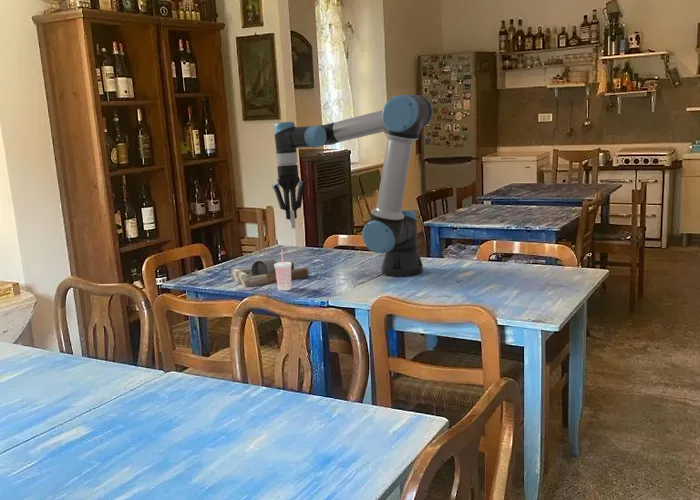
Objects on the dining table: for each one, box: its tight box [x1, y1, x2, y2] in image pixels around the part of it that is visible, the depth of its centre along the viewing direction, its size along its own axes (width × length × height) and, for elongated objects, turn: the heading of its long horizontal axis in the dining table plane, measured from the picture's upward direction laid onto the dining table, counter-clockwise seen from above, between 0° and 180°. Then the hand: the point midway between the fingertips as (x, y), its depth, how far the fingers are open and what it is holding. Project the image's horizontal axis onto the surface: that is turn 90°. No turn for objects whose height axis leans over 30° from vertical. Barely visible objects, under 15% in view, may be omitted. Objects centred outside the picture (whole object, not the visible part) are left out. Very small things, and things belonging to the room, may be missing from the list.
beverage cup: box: [274, 249, 292, 291], centre depth 247 cm, size 6×6×14 cm
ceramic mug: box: [249, 257, 277, 277], centre depth 265 cm, size 11×8×8 cm
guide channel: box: [230, 261, 309, 288], centre depth 266 cm, size 16×24×4 cm, turn 116°
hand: (292, 227), depth 267 cm, fingers closed
